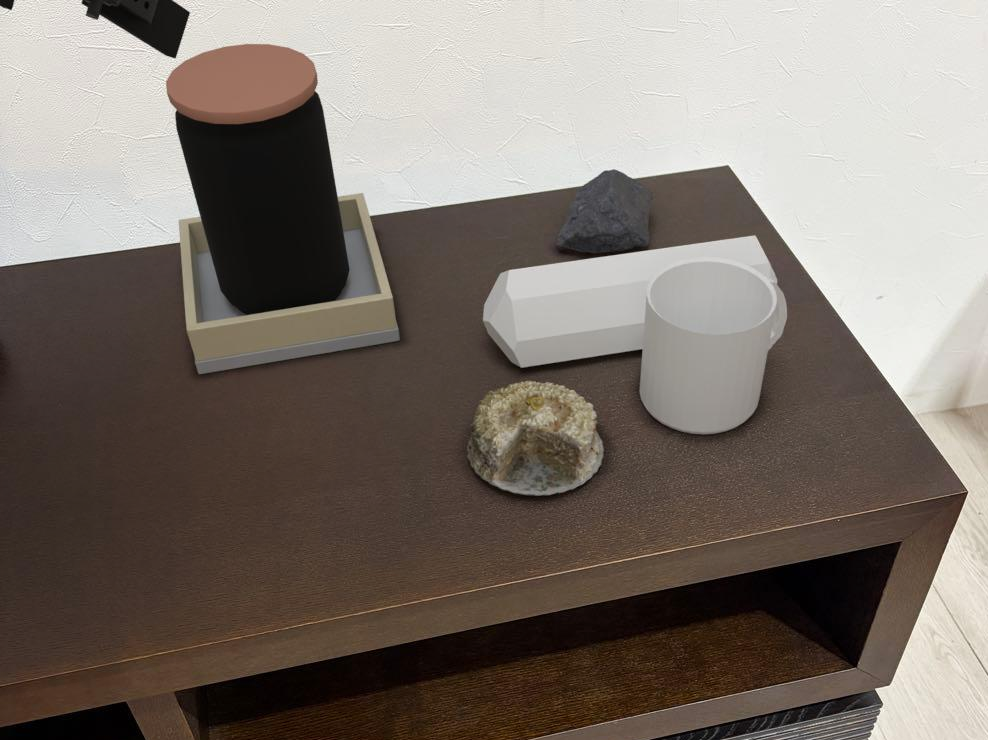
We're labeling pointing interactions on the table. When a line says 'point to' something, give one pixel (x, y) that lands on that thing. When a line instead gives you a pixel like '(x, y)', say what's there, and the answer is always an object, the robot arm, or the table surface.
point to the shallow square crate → (294, 331)
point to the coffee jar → (261, 175)
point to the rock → (607, 215)
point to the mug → (707, 343)
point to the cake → (534, 439)
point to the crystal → (590, 301)
